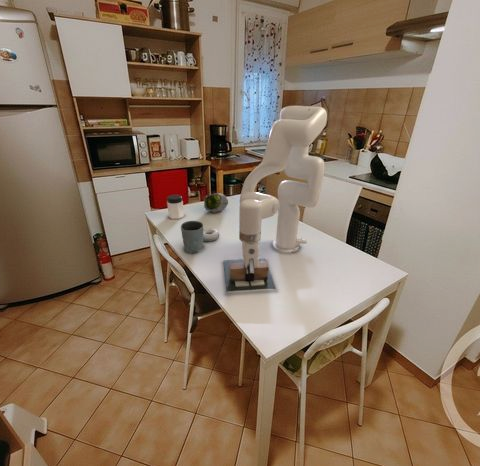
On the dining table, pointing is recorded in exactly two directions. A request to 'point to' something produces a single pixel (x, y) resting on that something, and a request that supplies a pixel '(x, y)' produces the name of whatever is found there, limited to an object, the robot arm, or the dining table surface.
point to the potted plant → (215, 202)
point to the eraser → (239, 269)
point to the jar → (175, 206)
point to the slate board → (232, 286)
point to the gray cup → (192, 236)
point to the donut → (210, 234)
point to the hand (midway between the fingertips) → (248, 276)
